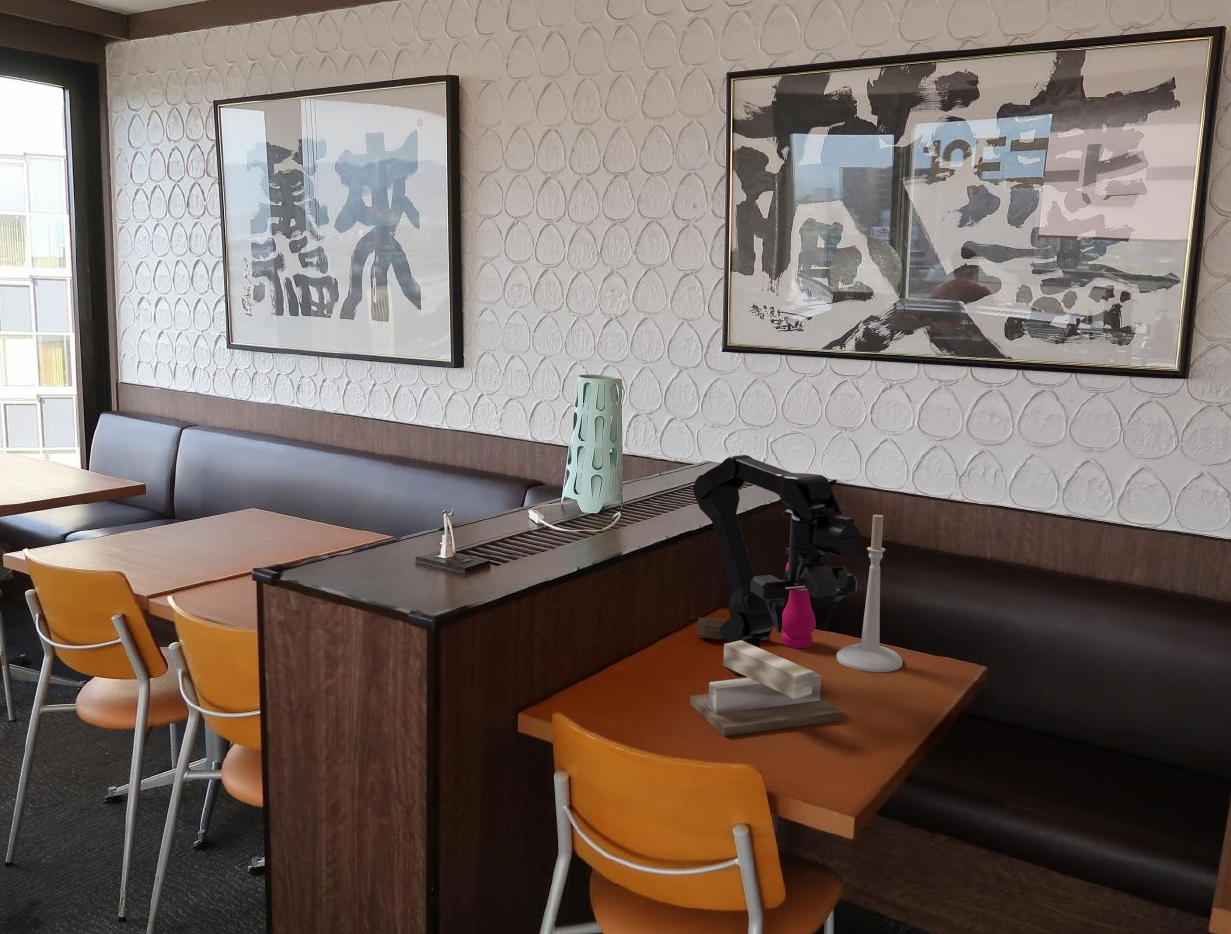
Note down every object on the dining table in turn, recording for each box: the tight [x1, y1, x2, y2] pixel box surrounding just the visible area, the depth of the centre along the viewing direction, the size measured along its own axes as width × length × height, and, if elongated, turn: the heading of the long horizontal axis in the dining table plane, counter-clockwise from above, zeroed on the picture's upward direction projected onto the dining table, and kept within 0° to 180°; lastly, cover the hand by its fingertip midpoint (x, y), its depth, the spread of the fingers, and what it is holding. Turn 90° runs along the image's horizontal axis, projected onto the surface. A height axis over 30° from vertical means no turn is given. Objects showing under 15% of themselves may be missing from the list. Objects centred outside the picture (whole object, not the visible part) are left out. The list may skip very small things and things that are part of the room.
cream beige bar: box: [722, 640, 814, 699], centre depth 180 cm, size 18×4×4 cm, turn 34°
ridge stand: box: [689, 669, 842, 737], centre depth 180 cm, size 14×22×6 cm, turn 109°
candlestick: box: [835, 513, 904, 673], centre depth 205 cm, size 13×13×30 cm
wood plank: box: [696, 616, 771, 641], centre depth 218 cm, size 15×2×5 cm, turn 91°
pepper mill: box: [781, 561, 817, 649], centre depth 215 cm, size 7×7×20 cm
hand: (801, 629), depth 188 cm, fingers open, 9 cm apart
